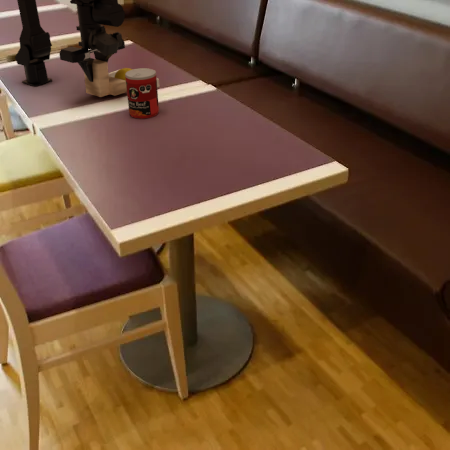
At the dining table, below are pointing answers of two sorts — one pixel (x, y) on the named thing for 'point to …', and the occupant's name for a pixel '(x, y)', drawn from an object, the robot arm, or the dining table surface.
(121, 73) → the lemon
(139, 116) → the canned food
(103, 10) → the robot arm
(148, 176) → the dining table surface
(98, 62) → the stepped wooden corner piece
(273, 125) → the dining table surface
